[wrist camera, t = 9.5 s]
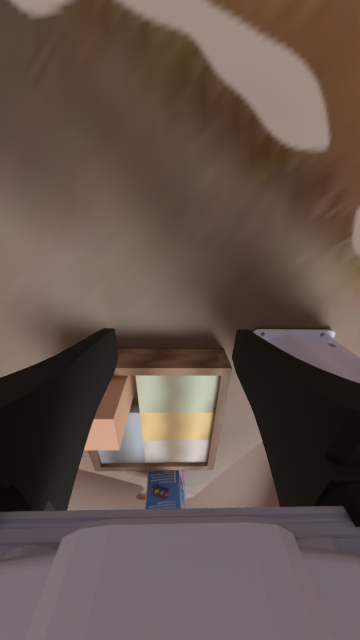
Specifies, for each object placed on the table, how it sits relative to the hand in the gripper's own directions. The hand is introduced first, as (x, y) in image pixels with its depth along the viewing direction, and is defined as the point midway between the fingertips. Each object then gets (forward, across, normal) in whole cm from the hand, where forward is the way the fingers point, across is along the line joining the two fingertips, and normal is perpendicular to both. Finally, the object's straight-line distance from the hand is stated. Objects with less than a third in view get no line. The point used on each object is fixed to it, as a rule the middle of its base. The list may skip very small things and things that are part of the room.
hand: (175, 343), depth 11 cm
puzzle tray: (+9, +3, +17) cm, 20 cm away
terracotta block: (+8, +8, +11) cm, 16 cm away
